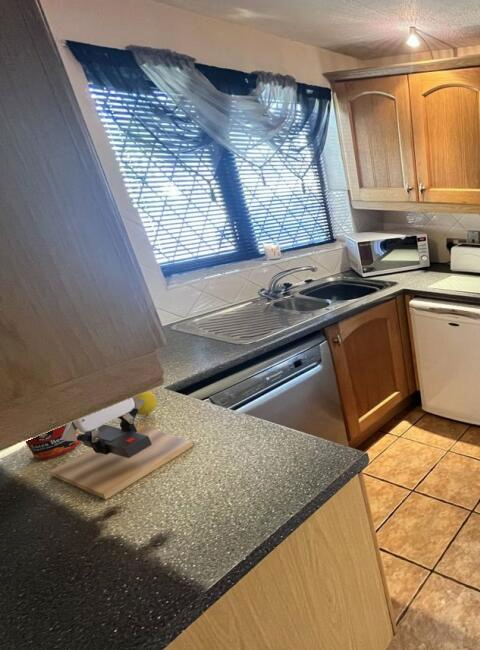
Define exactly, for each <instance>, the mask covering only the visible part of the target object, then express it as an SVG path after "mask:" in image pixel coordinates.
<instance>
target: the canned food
mask: <svg viewBox="0 0 480 650" xmlns="http://www.w3.org/2000/svg"><path fill="white" fill-rule="evenodd" d="M66 426H67V425H65V426H62V427H60V428H57V429H55V430H52V431H50V432H48V433H45V434H42V435H40V436H38V437H36V438H33V439H31V440H28V441H26V442H25V444H26V446H27V447H28V449H29V451H30V452H31V454H32V456H33V457H34V458H36V459H38V460H48V459H53V458H56V457H58V456H59V457H60V456H61V455H63V454H66V453H68V452H70V451H71V450H74V448H76V446H78V445H79V444H80V442H81V441H64V440H62V439H61V437H62V435H63V433H64V430H65V428H66ZM75 434H79V433H78V431H77V430H76V431H75Z"/></svg>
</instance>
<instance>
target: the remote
mask: <svg viewBox="0 0 480 650" xmlns="http://www.w3.org/2000/svg"><path fill="white" fill-rule="evenodd" d="M99 437H100V438H102V439H104V440H105V442H106V445H107V447H108V449H109V451H110V452H109V453H112V454H116V455H119V456H123V457H126V458H130V457H132V456H134V455H135V454H137V453H139V452H140V451H142V450H144V449H146V448H147V447H149V446H151V445H152V443H151V441H150V439H149V437H148V436H147V435H143V434H139V433H136V432H132V431H128V430H124V429H121V427H116V426H111V425H108V424H104V425H102V426H100V427H99ZM82 443H83V445H84V446H85V447H88V448H92V446H91V444H90V442H89V441H82ZM92 449H93V448H92Z"/></svg>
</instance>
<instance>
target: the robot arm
mask: <svg viewBox="0 0 480 650" xmlns="http://www.w3.org/2000/svg"><path fill="white" fill-rule="evenodd" d="M143 403H144V400H141V399H138V398H135V397H133V398H130V399H127V400H125V401H123V402H120V403H118V404H116V405H113V406H111V407H108V408H106V409H104V410H101V411H99V412H96V413H93V414H91V415H89V416H86V417H83V418H81V419H79V420H77V421H74V422H72V423H69V424H67V426H66V428H65V430H64V433H63V435H62V437H61V439H62V440H64V441H80V442H83V441H89V442H90V444H91V446H92V449H93V450H94V451H95V452H96V453H101V454H105V455H107V454H109V452H110V451H109V449H108V447H107V445H106V442H105V440H104V439H102V438H100V437H99V427H101V426H103V425H107V424H108V423H110V422H112V421H114V420H116V419H119V420H120V421H121V422H119V426H120V427H119V428H120V429H124V430H128V431H132V432H137V430H136V428H135V427H136V426H135V424H134V423H135V421H136V419H135V418H136V417H137V415H138V414H137V413H138V410H139V409H140V408H141V406H142V405H143ZM77 430H79V431H80V433H78V434H75V431H77Z"/></svg>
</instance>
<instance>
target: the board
mask: <svg viewBox="0 0 480 650" xmlns="http://www.w3.org/2000/svg"><path fill="white" fill-rule="evenodd" d="M135 428H136V430H137V432H136V433H139V434H143V435H147V436H148V437H149V439H150V441H151V443H152V445H151V446H149V447H147V448H146V449H144V450H142V451H140V452H139V453H137V454H135V455H134V456H132V457H130V458H126V457H123V456H119V455H116V454H112V453H109V454H107V455H105V454H101V453H96V452H95V451H94V450H93V448H92V449H89V450H88V451H86V452H84V453H81V454H80V455H78V456H76V457H74V458H72V459H70V460H68V461H66V462H64V463H62V464H60V465H58V466H56V467H54V468H52V469H51V470H49V471H50V474H51V475H52V477H55V478H56V479H59V480H61V481H63V482H65V483H68V484H70V485H72V486H74V487H77V488H79V489H81V490H84V491H86V492H88V493H90V494H92V495H95V496H97V497H99V498H102V499H103V500H108V499H109V498H111V497H113V496H115V495H116V494H117V493H119V492H121V491H123V490H124V489H125V488H128V487H129V486H130V485H133V484H134V483H135V482H137V481H138V480H141V479H142V478H143V477H145V476H147V475H148V474H150V473H151V472H153V471H155V470H156V469H158V468H160V467H161V466H163V465H164V464H166V463H168V462H169V461H171V460H173V459H174V458H176V457H178V456H180V455H181V454H182V453H184V452H186V451H187V450H189V449H191V448H192V447H194V445H193V442H192V440H189V439H186V438H182V437H180V436H176V435H174V434H173V435H172V434H170V433H167V432H164V431H162V430H158V429H155V428H152V427H149V426H146V425H143V424H138V425H136V426H135Z"/></svg>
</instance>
